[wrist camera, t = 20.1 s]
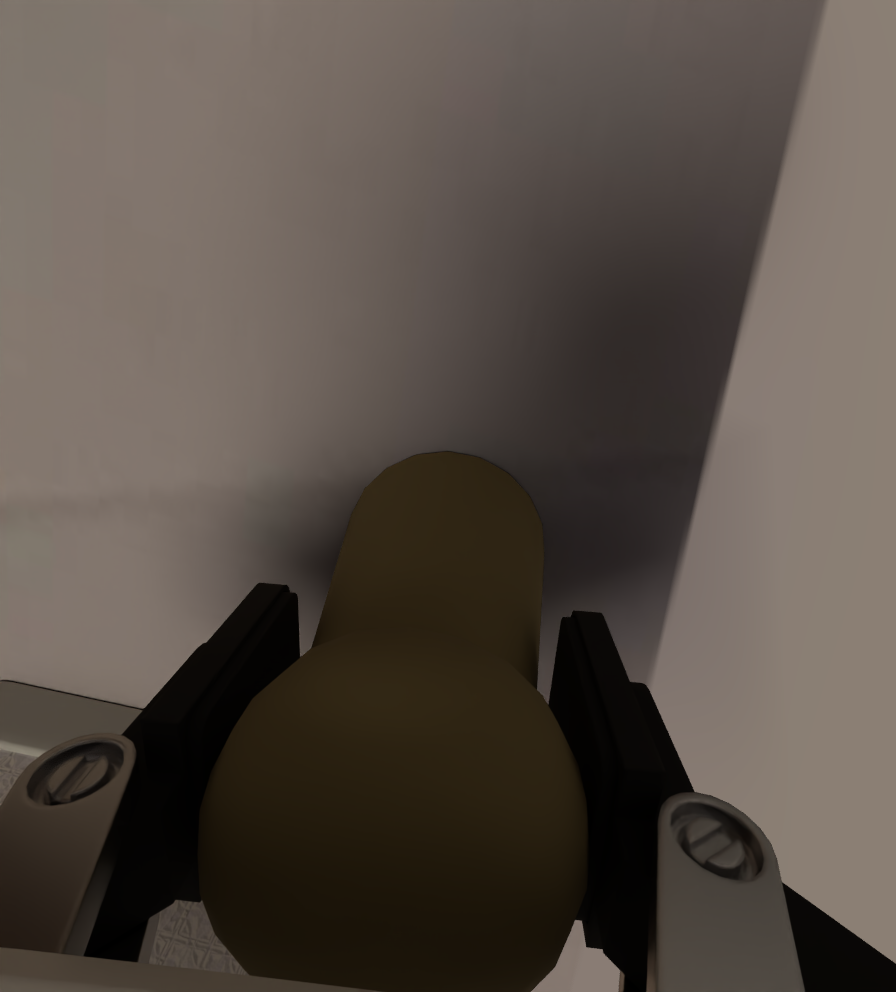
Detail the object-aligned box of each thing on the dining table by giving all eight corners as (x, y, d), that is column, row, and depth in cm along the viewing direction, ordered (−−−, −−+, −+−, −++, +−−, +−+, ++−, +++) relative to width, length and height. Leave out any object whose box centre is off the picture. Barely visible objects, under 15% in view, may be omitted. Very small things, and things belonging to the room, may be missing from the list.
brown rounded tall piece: (517, 427, 15) (595, 675, 4) (563, 611, 17) (699, 1100, 6) (319, 480, 16) (-2, 791, 5) (382, 649, 17) (232, 1135, 7)
